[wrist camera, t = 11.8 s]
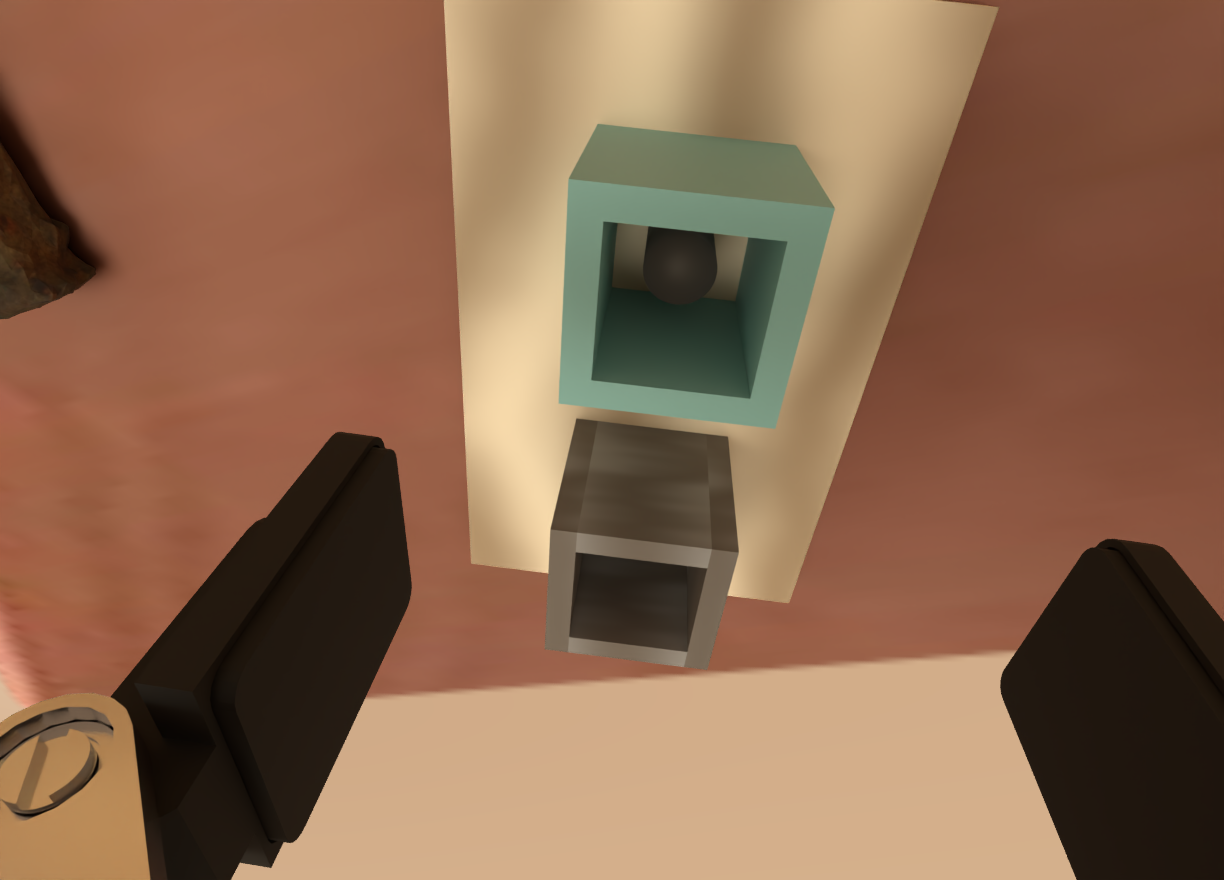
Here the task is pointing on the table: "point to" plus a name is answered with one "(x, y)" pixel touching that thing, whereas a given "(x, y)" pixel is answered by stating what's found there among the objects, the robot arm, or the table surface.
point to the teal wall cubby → (708, 328)
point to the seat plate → (698, 88)
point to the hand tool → (32, 249)
